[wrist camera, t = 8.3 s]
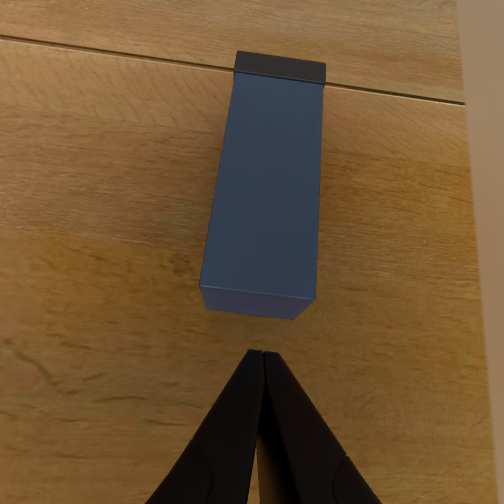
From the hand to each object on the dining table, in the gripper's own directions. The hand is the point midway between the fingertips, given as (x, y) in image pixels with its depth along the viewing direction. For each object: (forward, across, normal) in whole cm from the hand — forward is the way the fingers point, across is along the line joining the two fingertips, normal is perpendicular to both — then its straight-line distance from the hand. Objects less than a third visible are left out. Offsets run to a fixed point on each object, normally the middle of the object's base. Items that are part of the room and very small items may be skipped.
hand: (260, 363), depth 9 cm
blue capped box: (+7, 0, +2) cm, 7 cm away
